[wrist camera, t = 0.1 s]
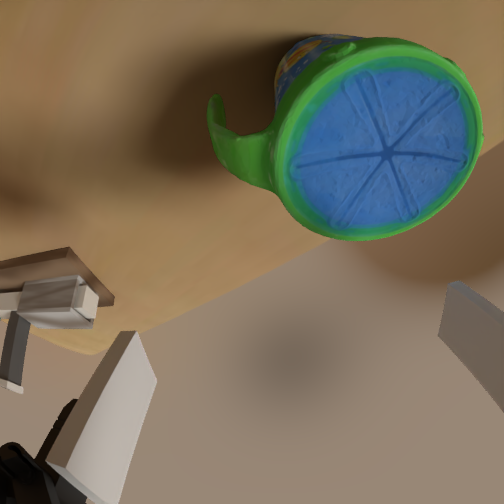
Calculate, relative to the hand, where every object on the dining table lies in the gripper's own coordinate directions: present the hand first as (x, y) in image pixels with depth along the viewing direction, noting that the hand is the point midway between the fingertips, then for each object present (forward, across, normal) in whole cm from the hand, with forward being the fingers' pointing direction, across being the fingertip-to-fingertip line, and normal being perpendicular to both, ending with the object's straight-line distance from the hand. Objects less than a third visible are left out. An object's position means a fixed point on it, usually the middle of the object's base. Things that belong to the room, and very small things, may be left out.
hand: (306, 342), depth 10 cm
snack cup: (+10, +5, +12) cm, 17 cm away
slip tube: (+19, -33, -5) cm, 39 cm away
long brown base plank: (+21, -39, -3) cm, 45 cm away
